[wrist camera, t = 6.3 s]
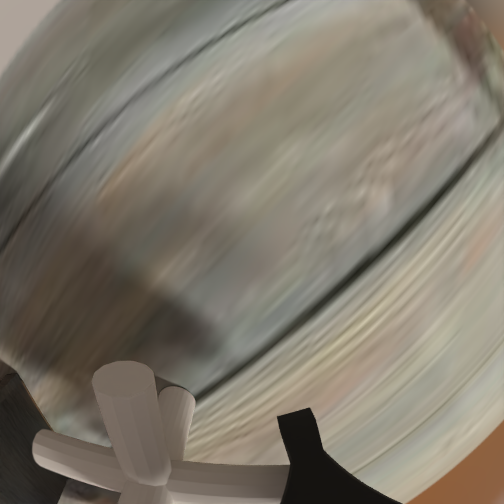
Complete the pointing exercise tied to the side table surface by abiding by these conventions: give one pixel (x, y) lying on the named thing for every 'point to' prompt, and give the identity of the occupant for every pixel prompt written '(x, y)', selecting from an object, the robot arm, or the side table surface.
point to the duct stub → (23, 449)
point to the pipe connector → (152, 448)
